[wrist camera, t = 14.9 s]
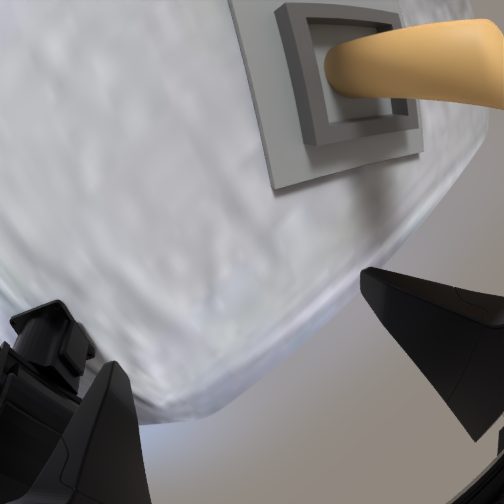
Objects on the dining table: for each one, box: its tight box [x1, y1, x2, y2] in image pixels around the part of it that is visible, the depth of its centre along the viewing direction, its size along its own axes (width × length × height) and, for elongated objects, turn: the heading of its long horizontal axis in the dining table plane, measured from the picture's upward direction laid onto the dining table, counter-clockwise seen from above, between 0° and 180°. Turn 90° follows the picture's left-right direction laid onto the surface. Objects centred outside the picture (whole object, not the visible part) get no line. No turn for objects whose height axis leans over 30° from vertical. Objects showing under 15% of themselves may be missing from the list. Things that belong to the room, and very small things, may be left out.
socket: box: [228, 0, 424, 189], centre depth 18 cm, size 16×16×3 cm
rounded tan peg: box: [324, 19, 504, 110], centre depth 13 cm, size 5×5×13 cm
